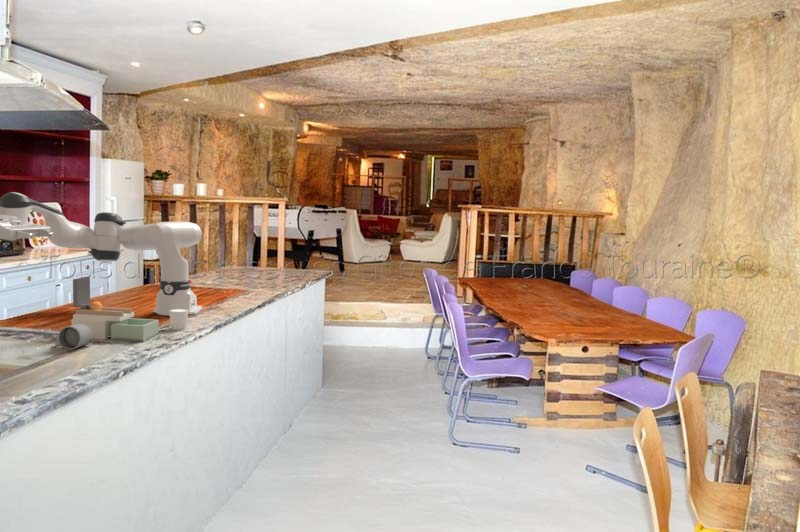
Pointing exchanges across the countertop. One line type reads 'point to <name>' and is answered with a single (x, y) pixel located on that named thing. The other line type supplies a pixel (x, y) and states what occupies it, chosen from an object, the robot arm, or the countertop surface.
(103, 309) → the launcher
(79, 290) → the gray upright panel
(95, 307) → the ball
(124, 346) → the countertop surface
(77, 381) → the countertop surface
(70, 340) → the grey tipped cup
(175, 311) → the white tapered cup
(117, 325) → the sage green tray
